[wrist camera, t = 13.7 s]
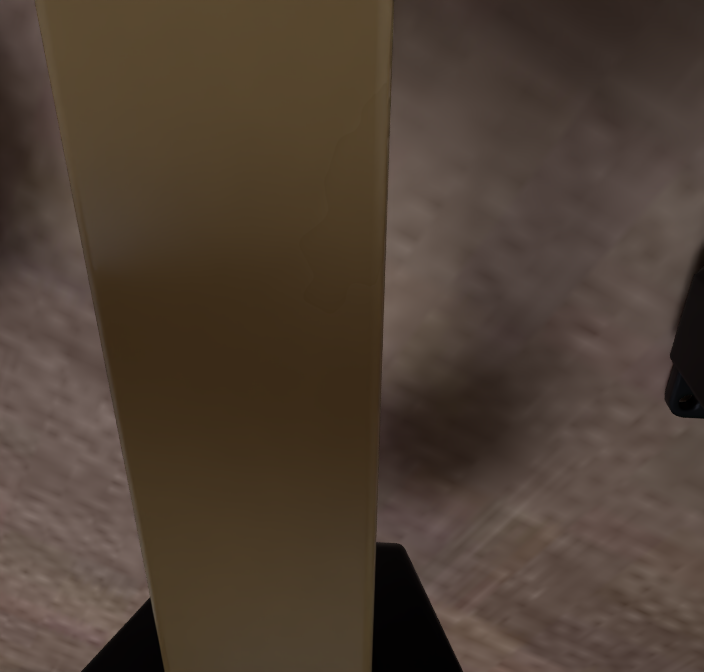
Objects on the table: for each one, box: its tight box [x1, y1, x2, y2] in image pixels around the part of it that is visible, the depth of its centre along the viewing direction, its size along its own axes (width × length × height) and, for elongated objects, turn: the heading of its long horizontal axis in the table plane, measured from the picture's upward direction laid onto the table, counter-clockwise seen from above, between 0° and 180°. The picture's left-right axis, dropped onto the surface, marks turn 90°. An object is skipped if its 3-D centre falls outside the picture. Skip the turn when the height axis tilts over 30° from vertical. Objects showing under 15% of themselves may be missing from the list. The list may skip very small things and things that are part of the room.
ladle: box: [35, 0, 394, 672], centre depth 9 cm, size 18×5×6 cm, turn 0°
